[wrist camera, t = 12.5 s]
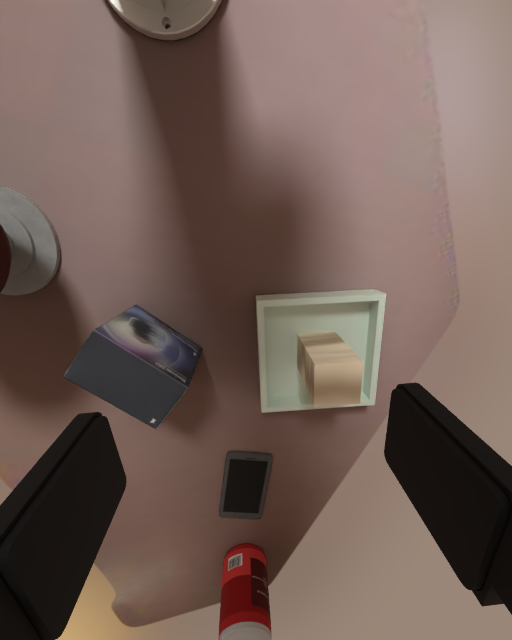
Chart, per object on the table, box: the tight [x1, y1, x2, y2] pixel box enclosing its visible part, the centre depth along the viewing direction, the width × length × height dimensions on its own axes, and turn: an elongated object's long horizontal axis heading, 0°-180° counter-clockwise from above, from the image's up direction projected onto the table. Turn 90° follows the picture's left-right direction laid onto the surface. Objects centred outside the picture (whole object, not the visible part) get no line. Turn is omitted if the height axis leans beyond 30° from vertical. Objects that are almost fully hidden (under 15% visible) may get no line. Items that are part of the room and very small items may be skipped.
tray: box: [255, 289, 386, 413], centre depth 36 cm, size 16×16×3 cm
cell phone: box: [219, 451, 272, 519], centre depth 44 cm, size 7×14×1 cm, turn 172°
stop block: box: [297, 331, 364, 407], centre depth 32 cm, size 5×5×9 cm
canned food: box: [219, 544, 271, 640], centre depth 44 cm, size 8×8×11 cm
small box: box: [64, 305, 202, 429], centre depth 31 cm, size 11×6×10 cm, turn 53°
